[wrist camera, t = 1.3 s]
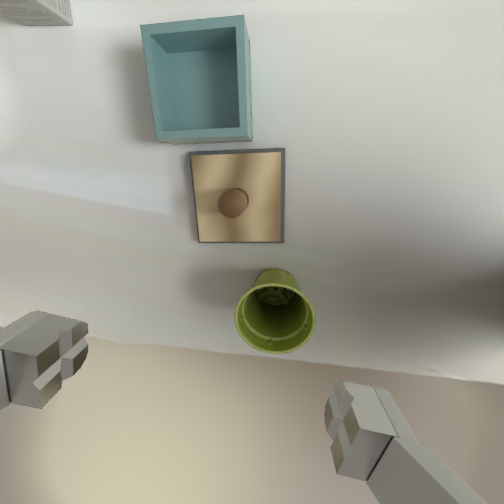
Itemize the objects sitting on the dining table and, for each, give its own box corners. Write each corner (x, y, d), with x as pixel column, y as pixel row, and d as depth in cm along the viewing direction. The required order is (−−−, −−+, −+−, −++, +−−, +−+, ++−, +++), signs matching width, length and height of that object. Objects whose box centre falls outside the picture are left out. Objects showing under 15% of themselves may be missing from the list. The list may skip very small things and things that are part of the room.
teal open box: (249, 42, 27) (243, 14, 22) (252, 140, 30) (247, 135, 25) (163, 49, 28) (140, 25, 23) (174, 144, 31) (156, 139, 26)
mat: (284, 148, 30) (285, 147, 29) (283, 241, 34) (283, 242, 33) (190, 152, 31) (189, 151, 30) (200, 241, 35) (198, 242, 34)
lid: (280, 152, 29) (281, 148, 24) (280, 239, 33) (280, 252, 28) (193, 156, 31) (176, 153, 25) (201, 239, 34) (188, 251, 29)
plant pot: (241, 309, 38) (231, 347, 30) (247, 252, 35) (237, 278, 27) (300, 318, 37) (307, 359, 29) (312, 261, 34) (323, 290, 26)
